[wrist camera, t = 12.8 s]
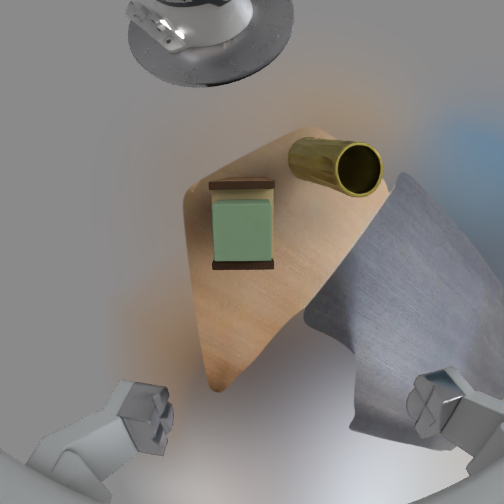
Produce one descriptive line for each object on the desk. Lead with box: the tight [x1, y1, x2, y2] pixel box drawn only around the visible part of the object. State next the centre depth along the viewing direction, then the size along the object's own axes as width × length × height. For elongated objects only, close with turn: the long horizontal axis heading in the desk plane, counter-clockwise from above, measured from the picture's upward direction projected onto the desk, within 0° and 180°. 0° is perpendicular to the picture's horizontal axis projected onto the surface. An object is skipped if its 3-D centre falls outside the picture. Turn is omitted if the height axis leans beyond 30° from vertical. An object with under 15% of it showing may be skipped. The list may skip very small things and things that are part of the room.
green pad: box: [212, 199, 272, 261], centre depth 20 cm, size 4×4×3 cm
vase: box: [288, 137, 383, 197], centre depth 30 cm, size 6×6×14 cm
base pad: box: [209, 177, 274, 270], centre depth 30 cm, size 7×5×18 cm
